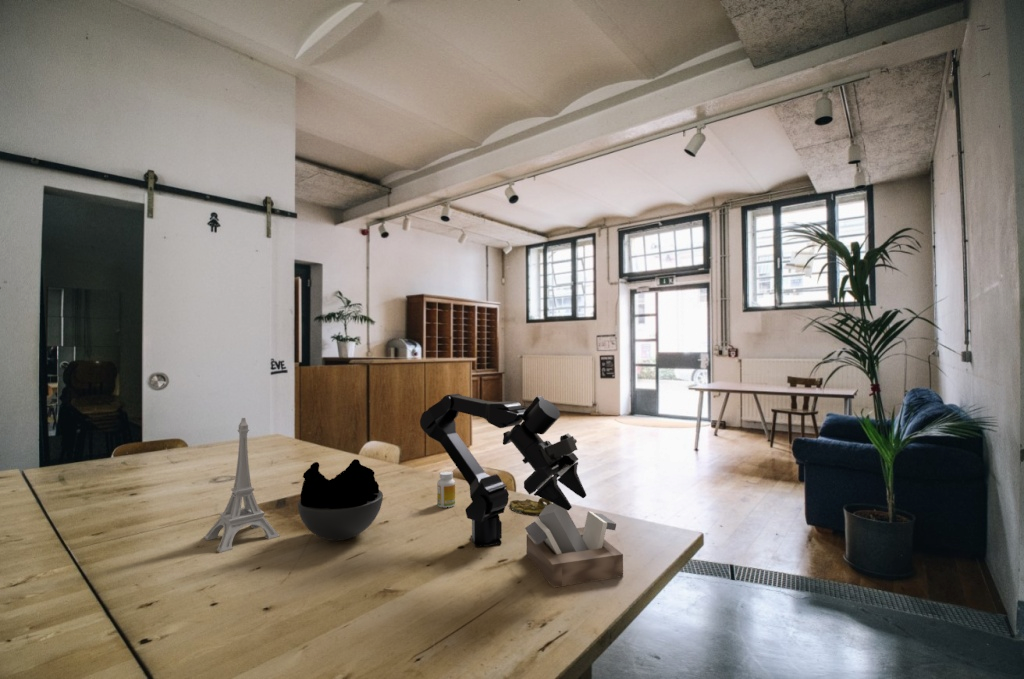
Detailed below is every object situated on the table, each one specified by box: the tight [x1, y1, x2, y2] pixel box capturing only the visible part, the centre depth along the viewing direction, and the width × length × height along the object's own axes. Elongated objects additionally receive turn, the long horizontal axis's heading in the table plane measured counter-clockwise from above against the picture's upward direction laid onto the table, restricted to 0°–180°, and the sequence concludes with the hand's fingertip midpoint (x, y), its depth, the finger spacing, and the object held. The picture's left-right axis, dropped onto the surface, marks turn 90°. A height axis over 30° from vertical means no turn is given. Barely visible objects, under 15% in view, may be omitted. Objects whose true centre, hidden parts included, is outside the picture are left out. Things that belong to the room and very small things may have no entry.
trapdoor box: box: [526, 526, 624, 588], centre depth 102 cm, size 16×16×4 cm
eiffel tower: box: [203, 417, 281, 554], centre depth 119 cm, size 13×13×30 cm
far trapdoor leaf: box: [582, 511, 617, 550], centre depth 104 cm, size 9×7×4 cm
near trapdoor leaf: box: [524, 517, 562, 555], centre depth 100 cm, size 9×7×4 cm
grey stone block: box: [537, 503, 588, 554], centre depth 103 cm, size 4×4×12 cm
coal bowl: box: [297, 458, 384, 541], centre depth 118 cm, size 20×20×19 cm
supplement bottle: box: [436, 471, 456, 509], centre depth 142 cm, size 5×5×10 cm
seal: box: [509, 497, 553, 516], centre depth 138 cm, size 9×5×15 cm
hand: (577, 502), depth 102 cm, fingers open, 9 cm apart
